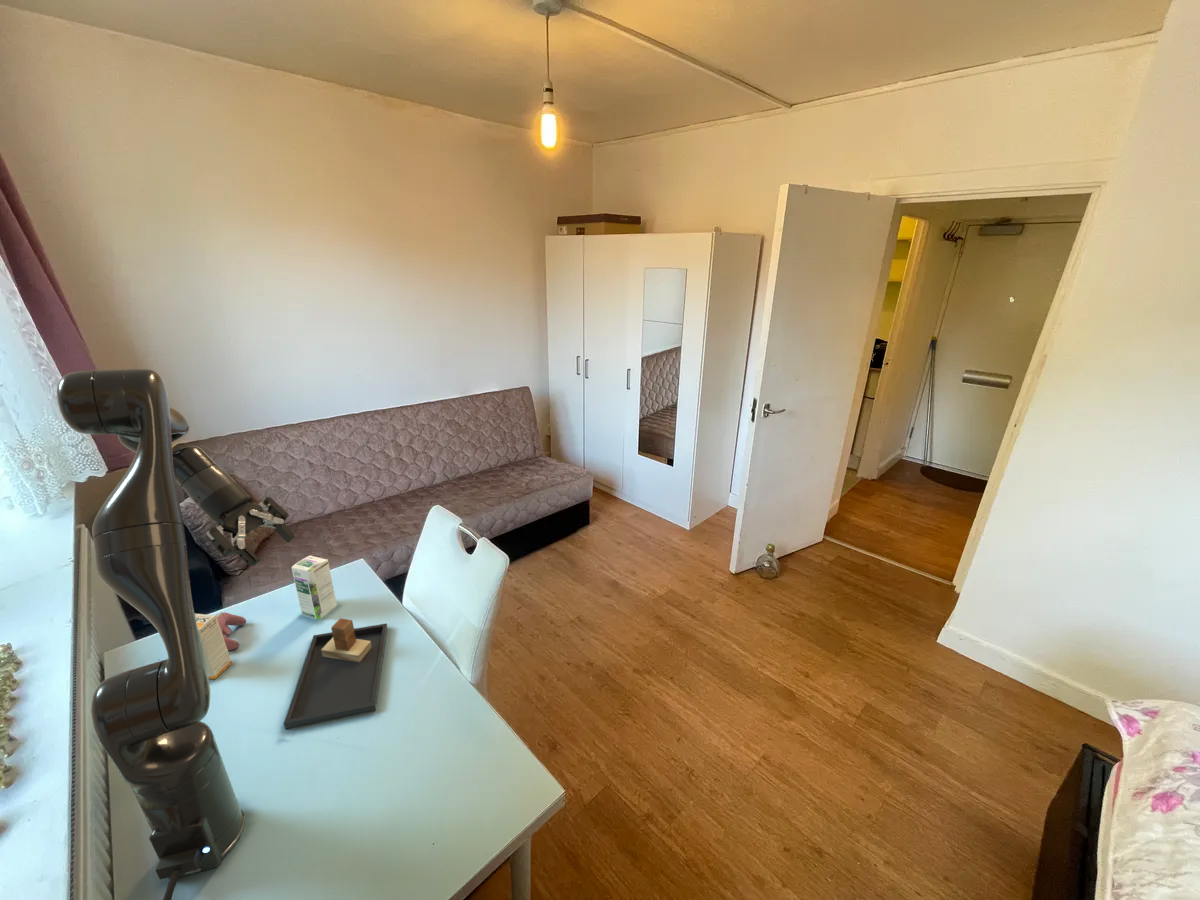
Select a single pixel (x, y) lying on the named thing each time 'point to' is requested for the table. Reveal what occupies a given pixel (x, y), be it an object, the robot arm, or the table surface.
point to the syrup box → (314, 586)
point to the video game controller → (226, 620)
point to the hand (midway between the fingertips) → (275, 551)
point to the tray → (337, 681)
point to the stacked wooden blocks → (345, 643)
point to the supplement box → (212, 645)
